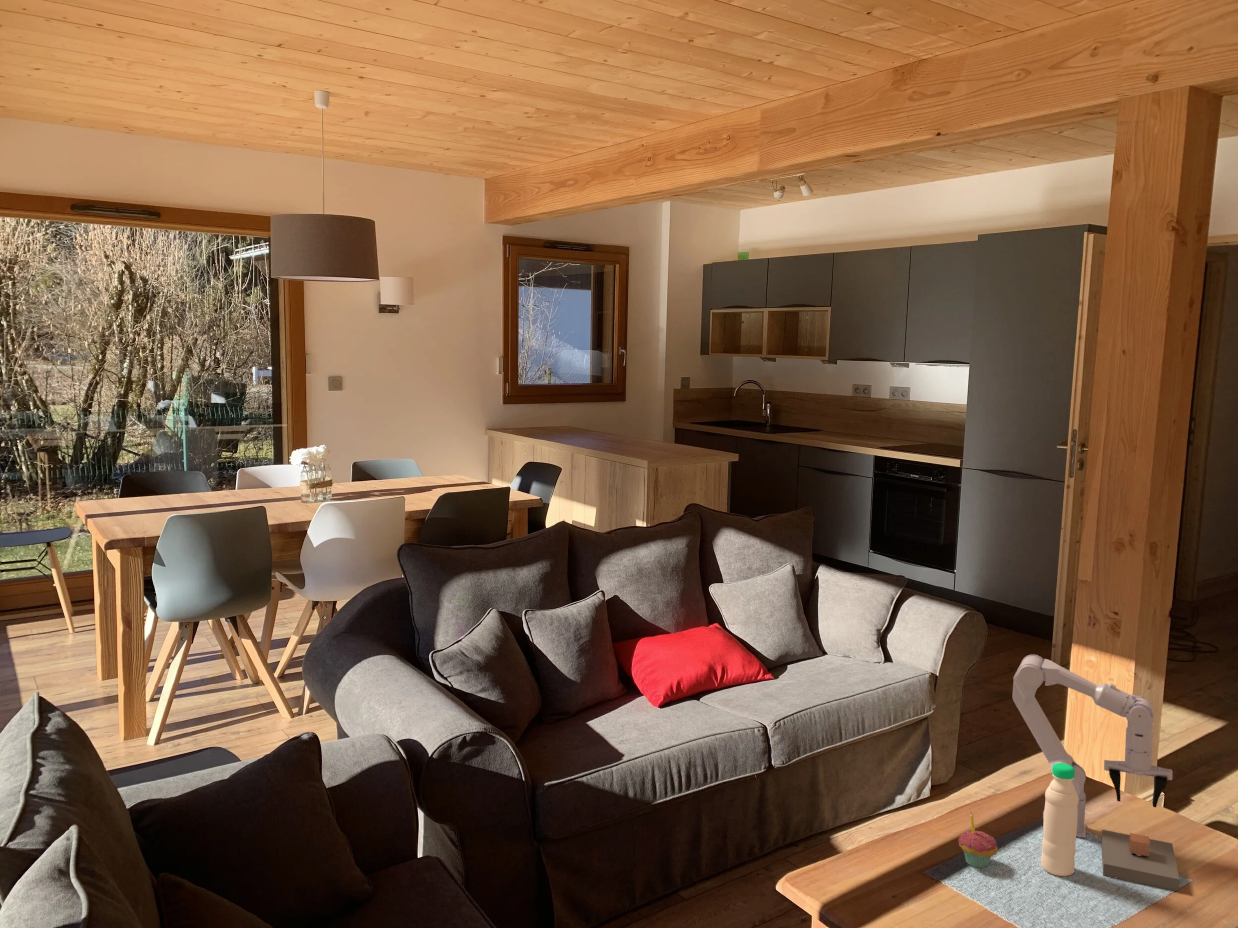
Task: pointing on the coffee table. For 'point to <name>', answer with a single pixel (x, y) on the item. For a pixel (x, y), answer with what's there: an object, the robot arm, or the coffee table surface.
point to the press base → (1139, 861)
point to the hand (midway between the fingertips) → (1136, 802)
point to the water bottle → (1060, 822)
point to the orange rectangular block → (1139, 844)
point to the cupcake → (977, 846)
